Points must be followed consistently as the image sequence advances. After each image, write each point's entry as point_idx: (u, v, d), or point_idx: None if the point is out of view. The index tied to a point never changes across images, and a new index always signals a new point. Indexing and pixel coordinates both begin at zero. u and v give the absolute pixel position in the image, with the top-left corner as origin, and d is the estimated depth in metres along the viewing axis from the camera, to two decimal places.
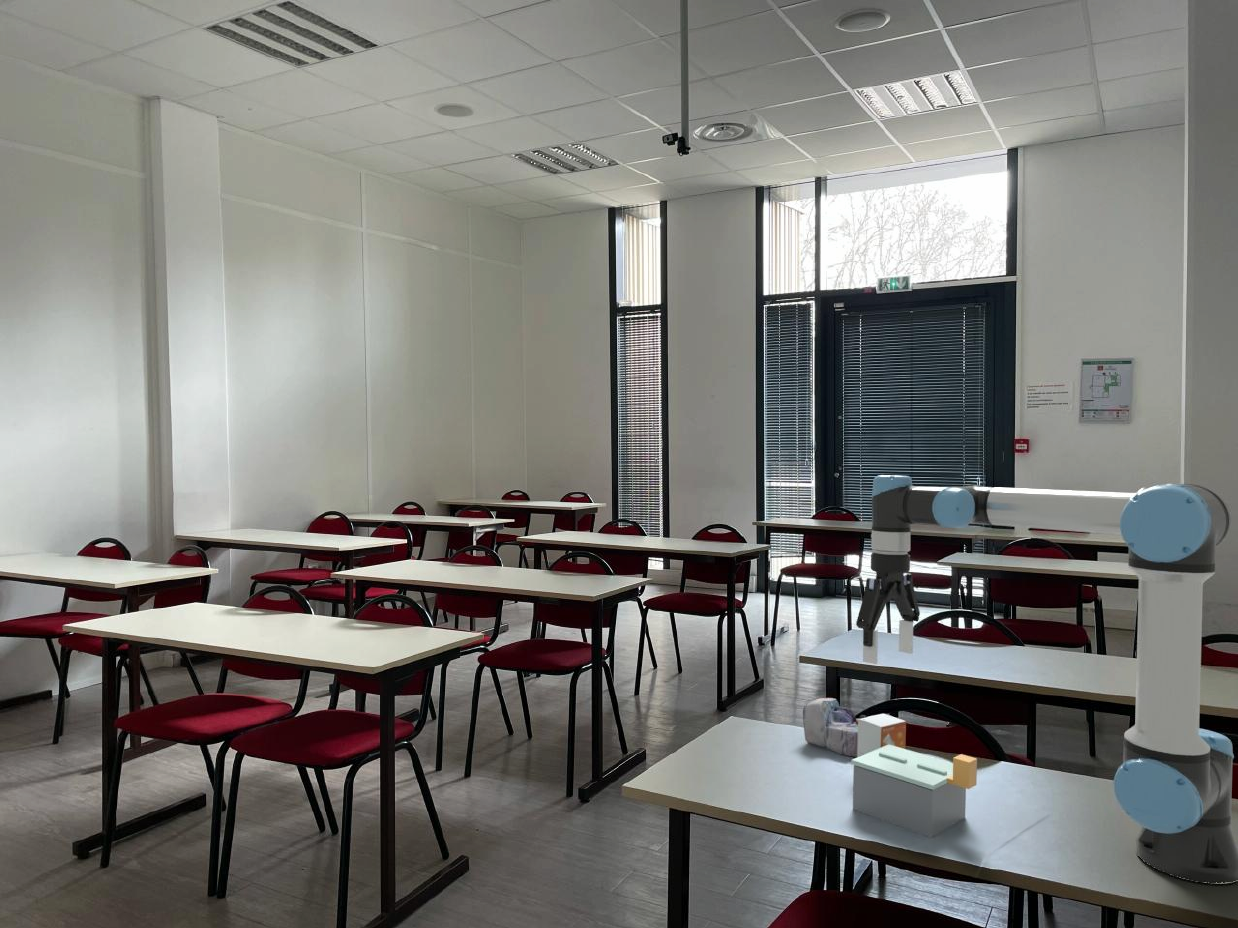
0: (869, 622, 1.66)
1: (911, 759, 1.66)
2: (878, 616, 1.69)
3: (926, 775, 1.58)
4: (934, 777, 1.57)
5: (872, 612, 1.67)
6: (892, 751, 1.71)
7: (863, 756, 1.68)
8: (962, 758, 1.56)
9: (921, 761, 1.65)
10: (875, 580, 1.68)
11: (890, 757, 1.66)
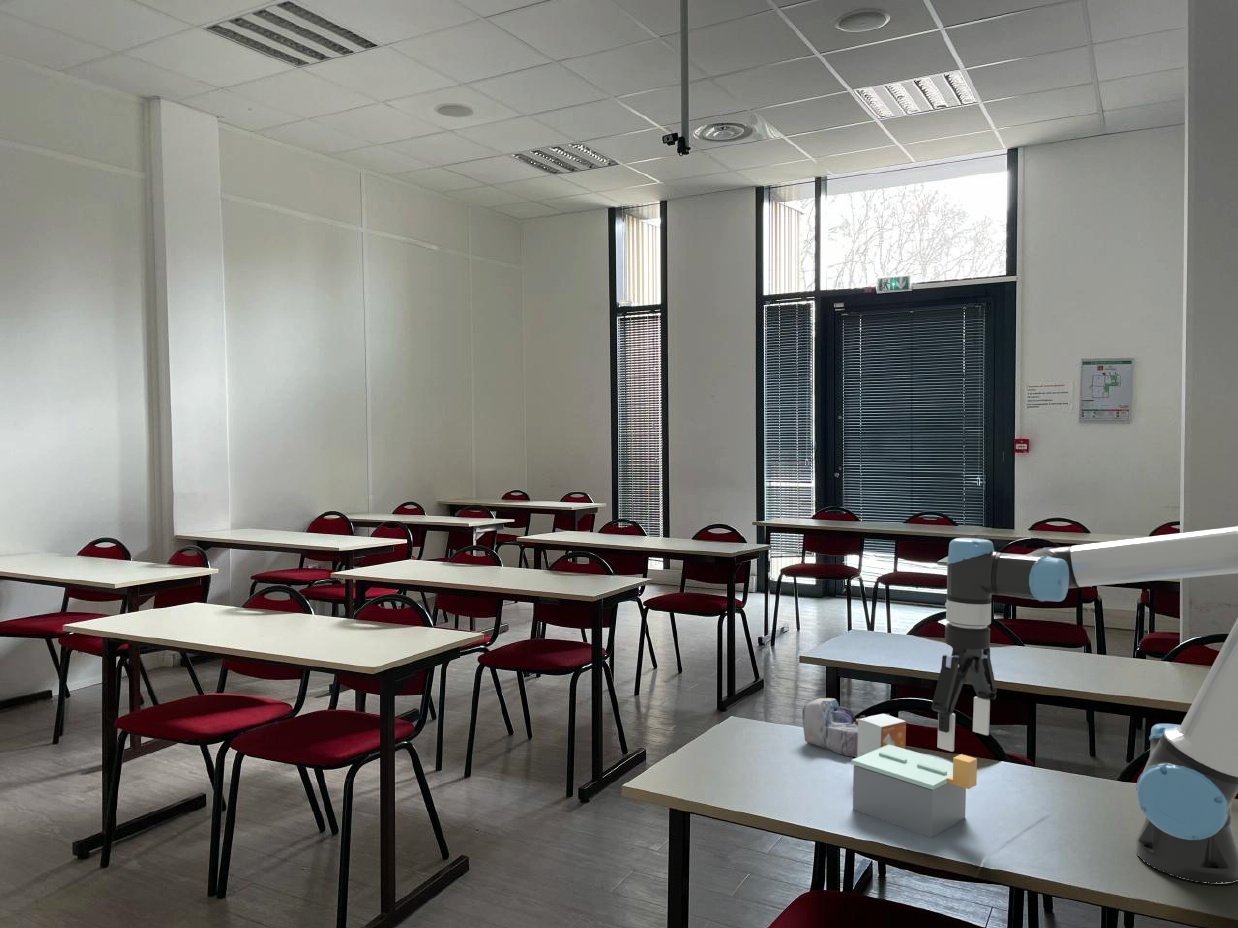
0: (946, 706, 1.49)
1: (911, 759, 1.66)
2: (956, 698, 1.51)
3: (926, 775, 1.58)
4: (934, 777, 1.57)
5: (950, 694, 1.49)
6: (892, 751, 1.71)
7: (863, 756, 1.68)
8: (962, 758, 1.56)
9: (921, 761, 1.65)
10: (953, 658, 1.51)
11: (890, 757, 1.66)
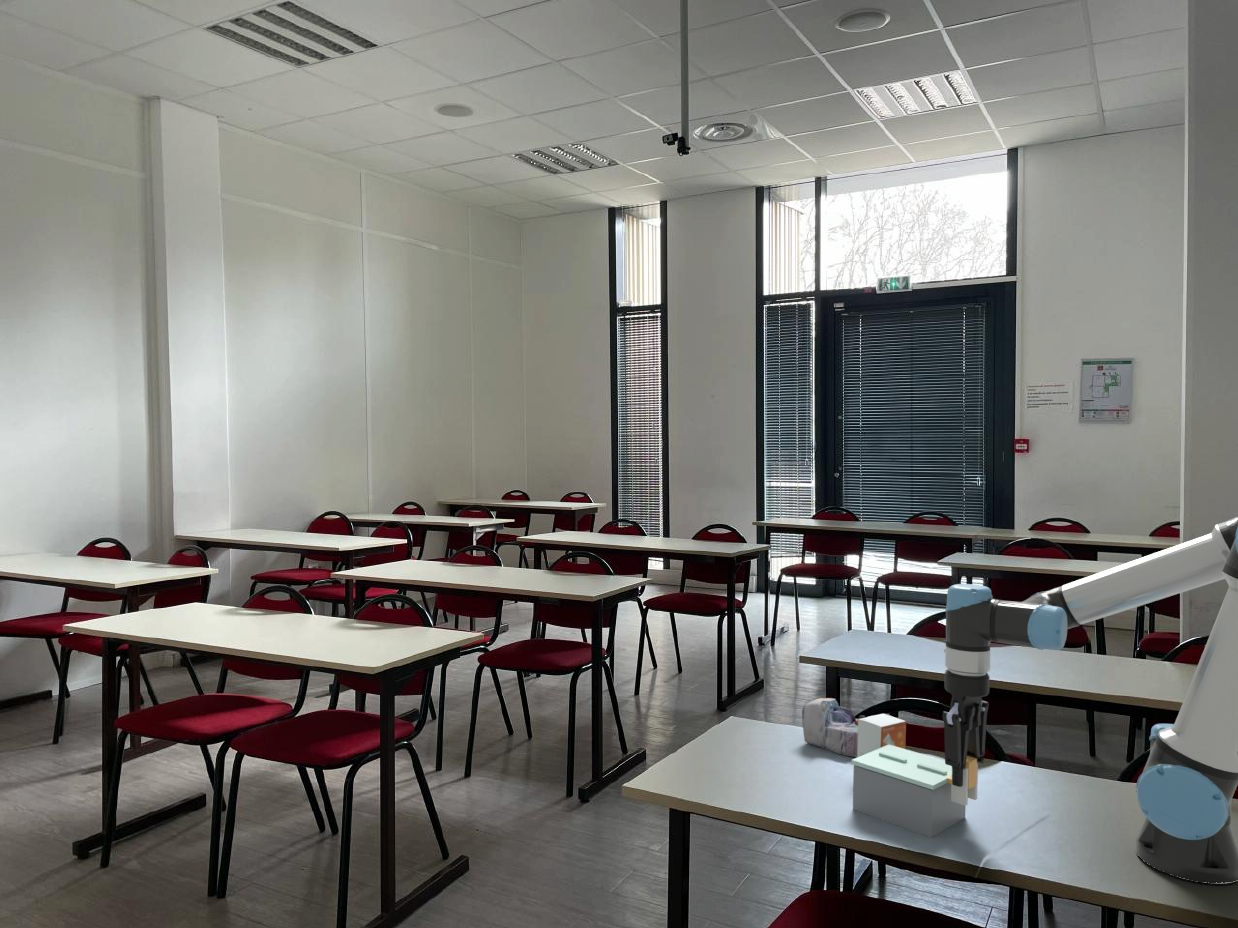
0: (959, 761, 1.52)
1: (911, 759, 1.66)
2: (965, 750, 1.54)
3: (926, 775, 1.58)
4: (934, 777, 1.57)
5: (959, 750, 1.52)
6: (892, 751, 1.71)
7: (863, 756, 1.68)
8: None
9: (921, 761, 1.65)
10: (953, 717, 1.51)
11: (890, 757, 1.66)
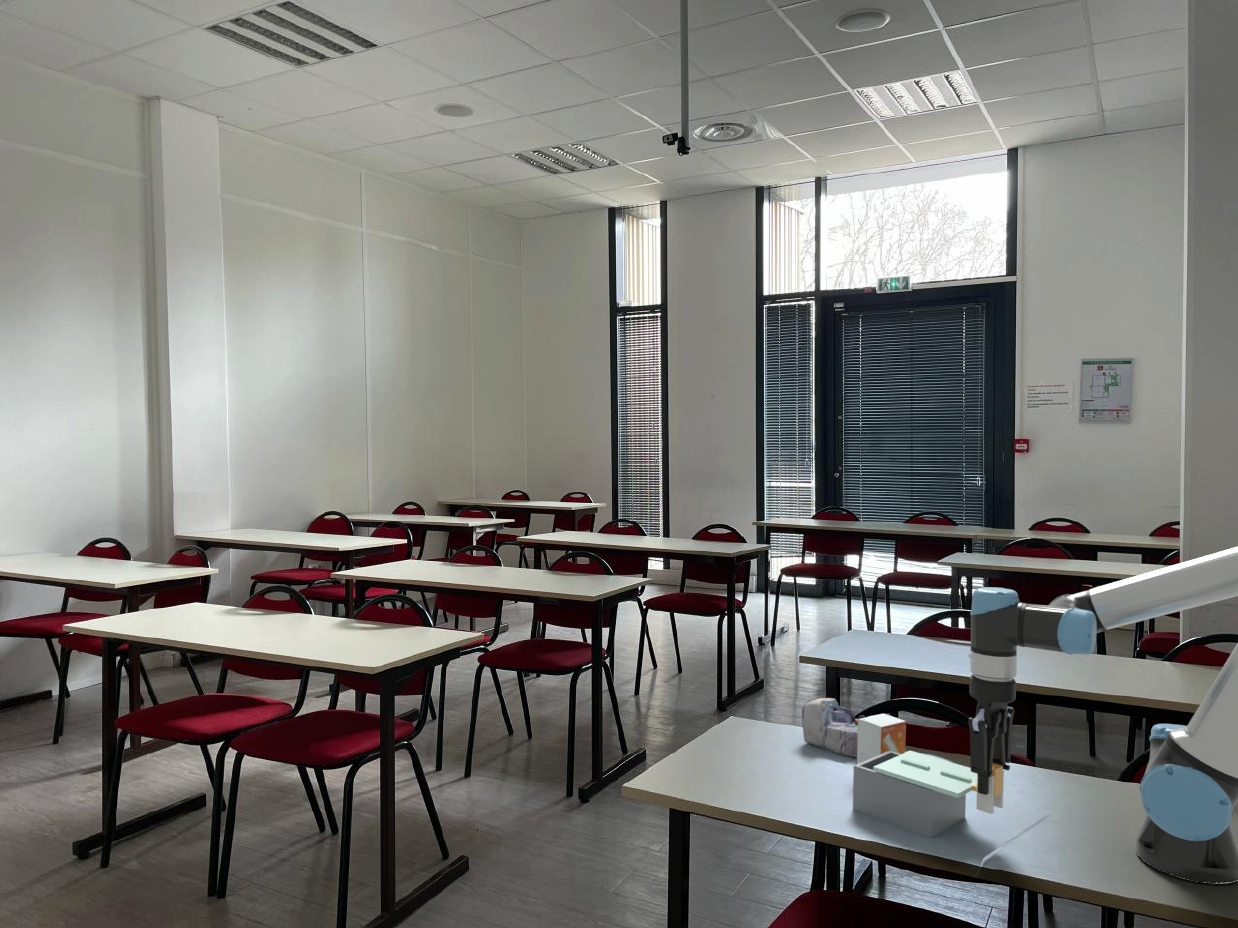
0: (985, 769, 1.49)
1: (934, 765, 1.63)
2: (992, 757, 1.50)
3: (950, 782, 1.55)
4: (959, 785, 1.54)
5: (985, 757, 1.48)
6: (914, 757, 1.67)
7: (885, 763, 1.64)
8: None
9: (944, 768, 1.62)
10: (979, 724, 1.48)
11: (912, 764, 1.63)
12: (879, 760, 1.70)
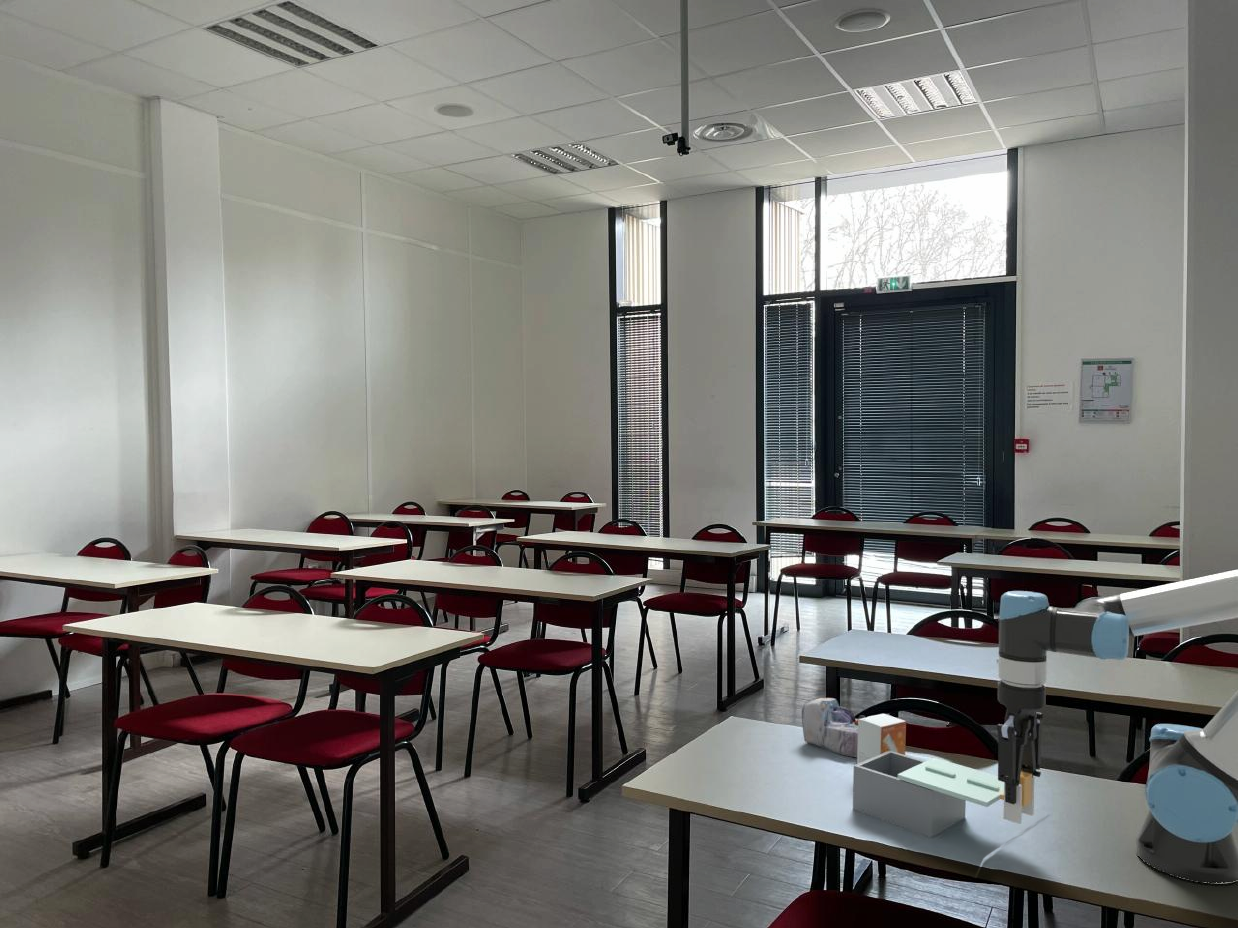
0: (1013, 777, 1.44)
1: (960, 773, 1.59)
2: (1020, 766, 1.46)
3: (978, 791, 1.51)
4: (987, 793, 1.50)
5: (1014, 765, 1.44)
6: (938, 765, 1.64)
7: (909, 770, 1.60)
8: None
9: (970, 776, 1.58)
10: (1008, 730, 1.44)
11: (937, 771, 1.59)
12: (879, 760, 1.70)
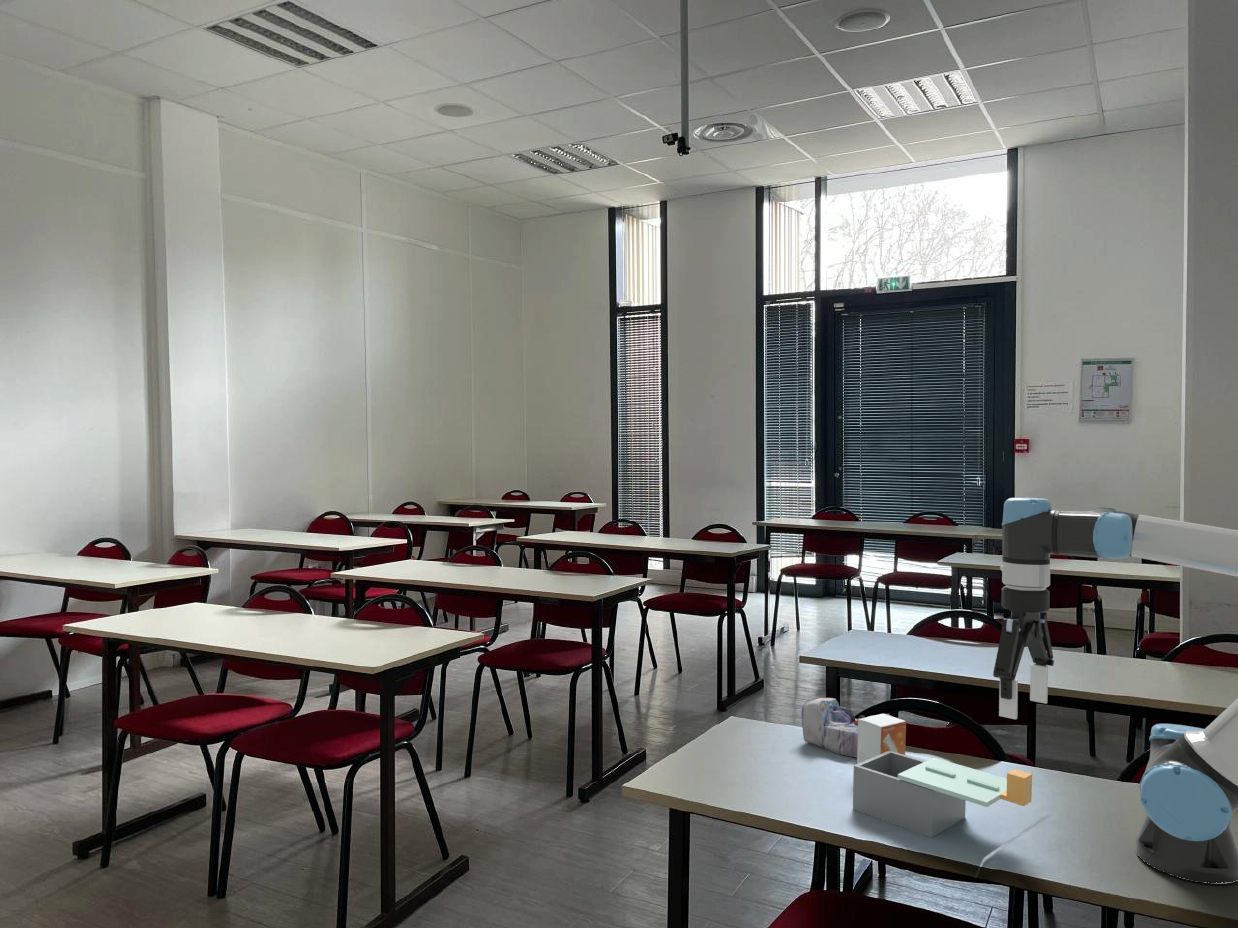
0: (1010, 671, 1.42)
1: (960, 773, 1.59)
2: (1018, 663, 1.44)
3: (978, 791, 1.51)
4: (987, 793, 1.50)
5: (1012, 659, 1.43)
6: (938, 765, 1.64)
7: (909, 770, 1.60)
8: (1017, 774, 1.49)
9: (970, 776, 1.58)
10: (1014, 621, 1.44)
11: (937, 771, 1.59)
12: (879, 760, 1.70)
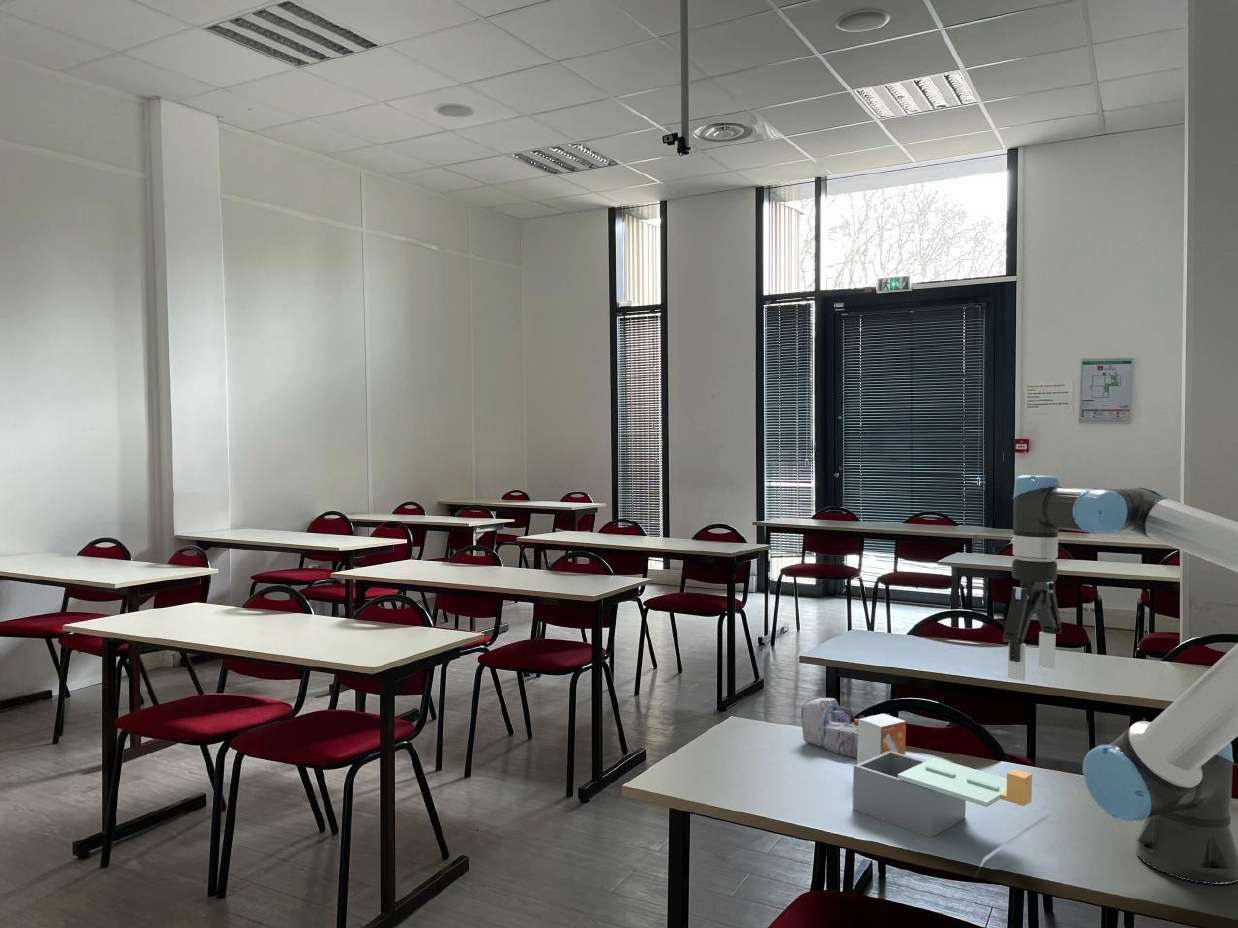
0: (1018, 635, 1.53)
1: (960, 773, 1.59)
2: (1026, 628, 1.55)
3: (978, 791, 1.51)
4: (987, 793, 1.50)
5: (1021, 624, 1.53)
6: (938, 765, 1.64)
7: (909, 770, 1.60)
8: (1017, 774, 1.49)
9: (970, 776, 1.58)
10: (1022, 589, 1.55)
11: (937, 771, 1.59)
12: (879, 760, 1.70)
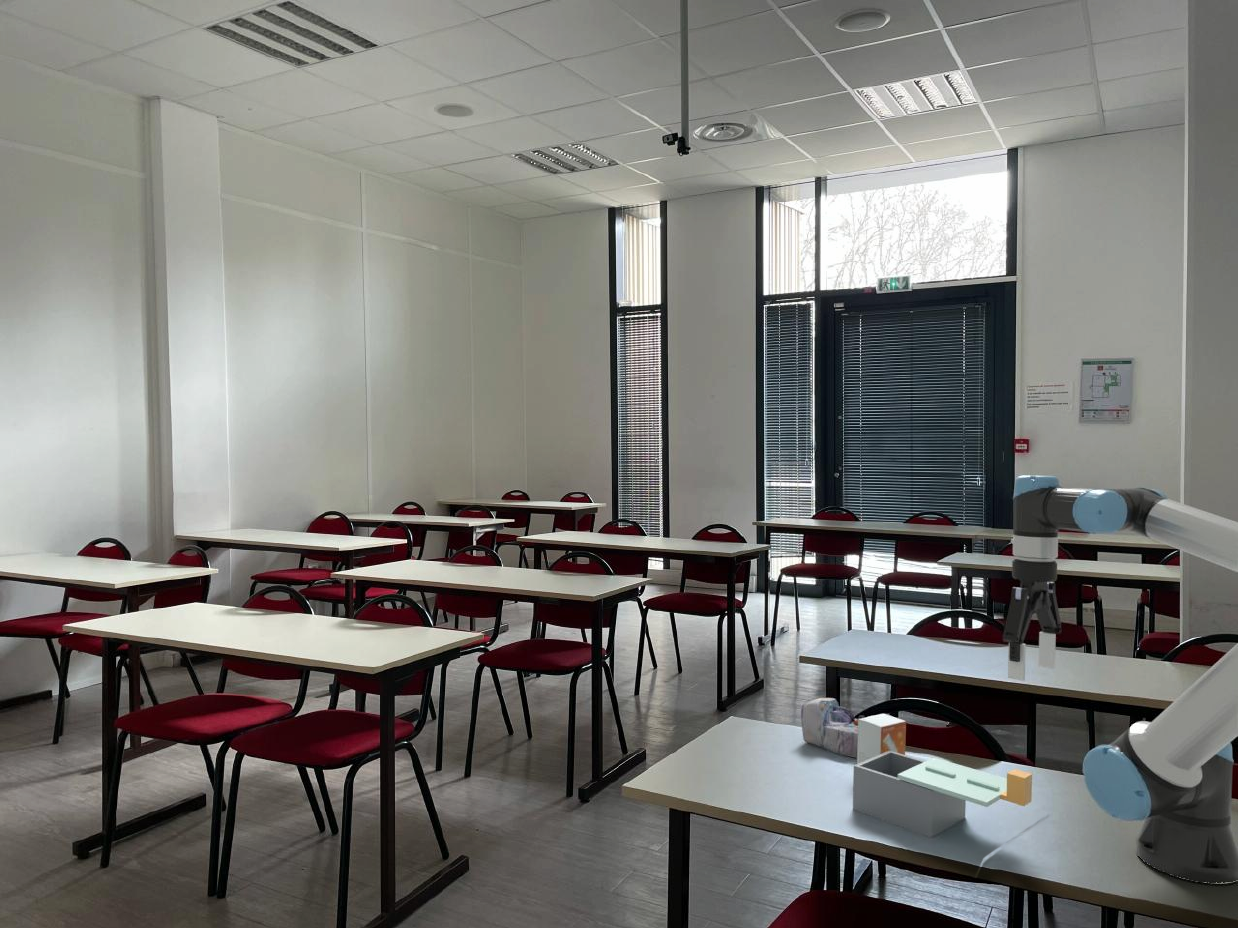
0: (1018, 635, 1.53)
1: (960, 773, 1.59)
2: (1026, 628, 1.55)
3: (978, 791, 1.51)
4: (987, 793, 1.50)
5: (1021, 624, 1.53)
6: (938, 765, 1.64)
7: (909, 770, 1.60)
8: (1017, 774, 1.49)
9: (970, 776, 1.58)
10: (1022, 589, 1.55)
11: (937, 771, 1.59)
12: (879, 760, 1.70)
